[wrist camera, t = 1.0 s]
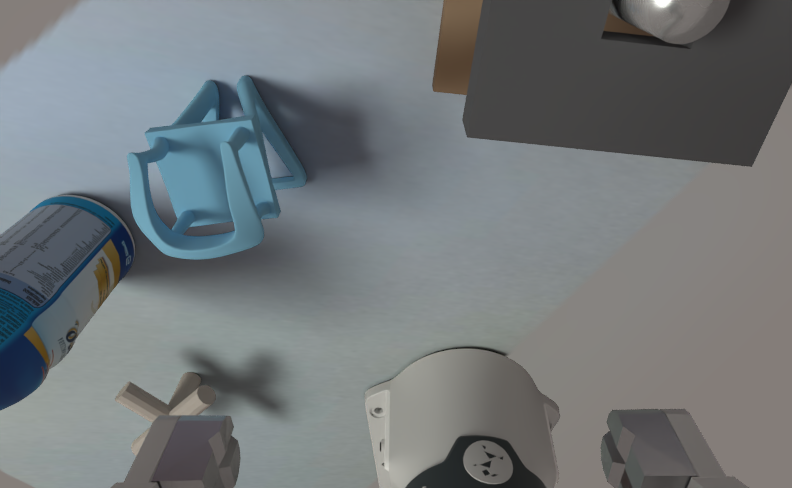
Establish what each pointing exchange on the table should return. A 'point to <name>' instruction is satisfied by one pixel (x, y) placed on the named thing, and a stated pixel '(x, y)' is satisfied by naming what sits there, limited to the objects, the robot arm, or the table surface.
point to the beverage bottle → (54, 284)
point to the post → (671, 17)
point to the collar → (628, 81)
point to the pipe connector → (182, 403)
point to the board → (461, 39)
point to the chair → (213, 175)
